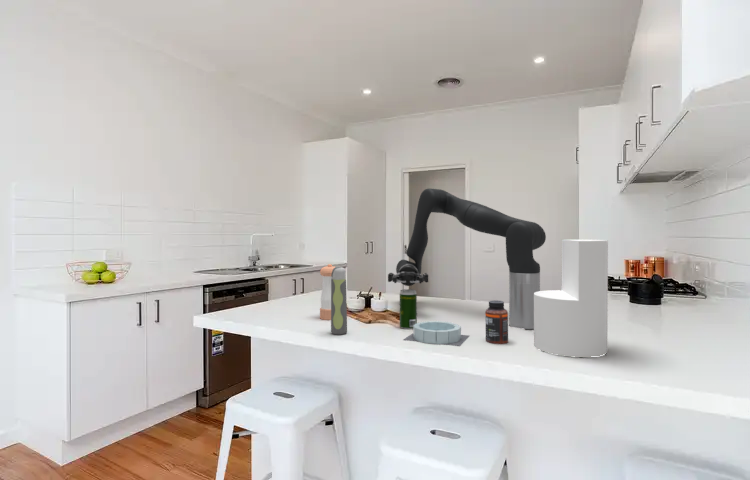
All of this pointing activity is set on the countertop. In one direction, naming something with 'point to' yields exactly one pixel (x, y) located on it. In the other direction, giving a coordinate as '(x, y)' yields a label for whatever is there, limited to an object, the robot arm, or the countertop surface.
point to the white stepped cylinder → (575, 303)
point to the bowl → (437, 332)
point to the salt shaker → (326, 292)
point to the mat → (459, 343)
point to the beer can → (408, 308)
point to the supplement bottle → (496, 323)
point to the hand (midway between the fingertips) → (407, 280)
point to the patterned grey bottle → (338, 302)
